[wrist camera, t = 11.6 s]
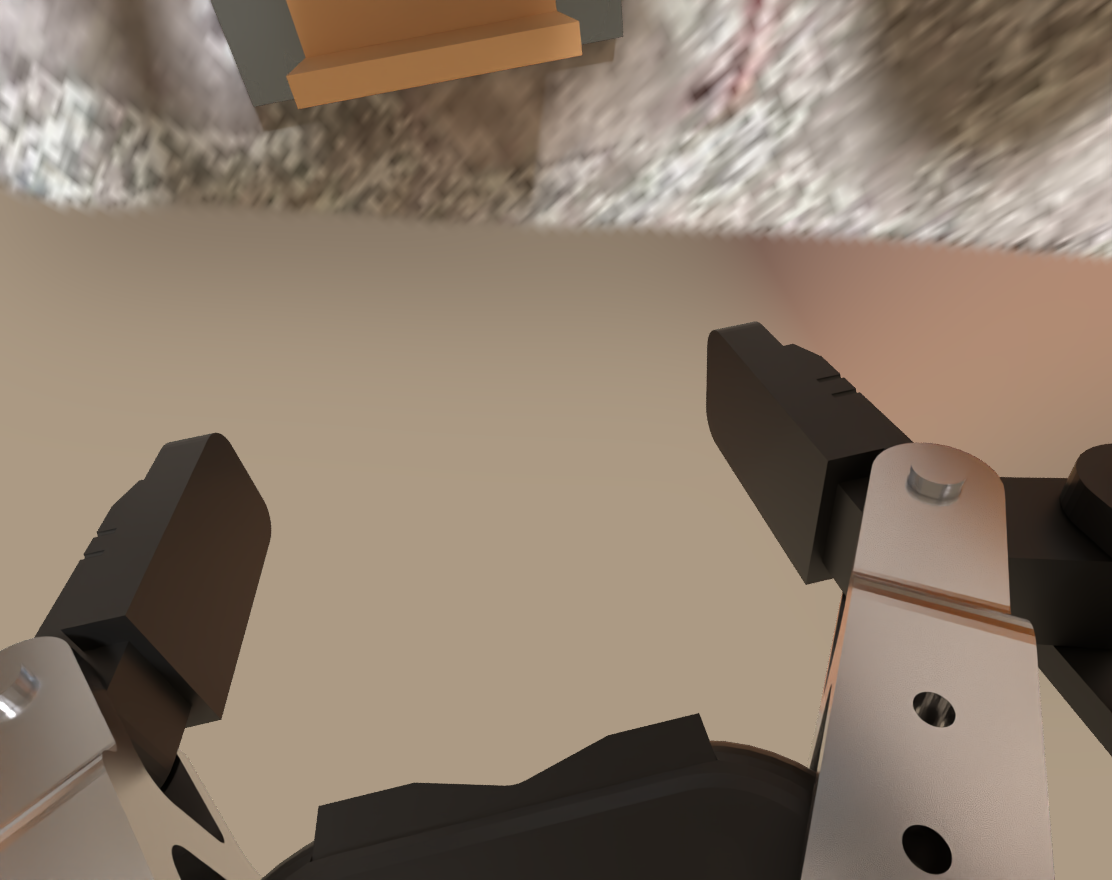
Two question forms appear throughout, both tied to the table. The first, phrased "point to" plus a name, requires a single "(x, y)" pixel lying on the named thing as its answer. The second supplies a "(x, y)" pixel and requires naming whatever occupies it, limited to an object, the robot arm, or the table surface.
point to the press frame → (275, 50)
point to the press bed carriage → (419, 43)
